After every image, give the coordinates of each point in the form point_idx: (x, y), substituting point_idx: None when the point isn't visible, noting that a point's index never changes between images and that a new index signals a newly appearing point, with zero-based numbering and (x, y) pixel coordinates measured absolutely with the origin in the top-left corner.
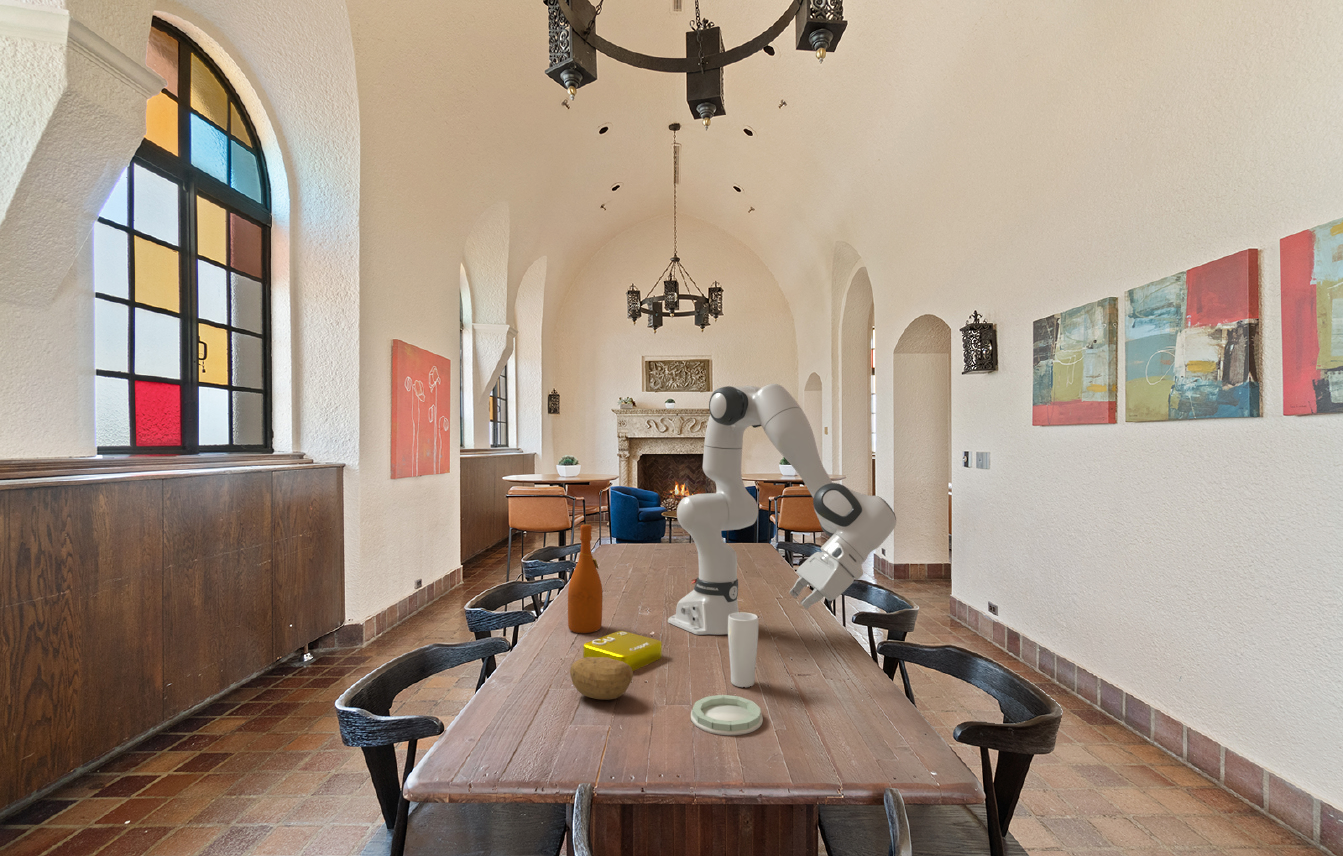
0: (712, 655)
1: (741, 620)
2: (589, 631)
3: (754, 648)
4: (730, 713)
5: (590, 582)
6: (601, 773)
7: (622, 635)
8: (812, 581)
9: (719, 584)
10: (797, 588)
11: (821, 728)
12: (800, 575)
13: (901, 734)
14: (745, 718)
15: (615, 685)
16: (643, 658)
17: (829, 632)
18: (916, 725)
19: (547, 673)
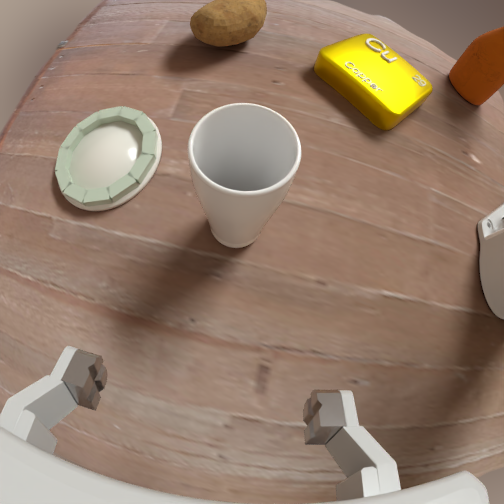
0: (393, 215)
1: (195, 125)
2: (453, 84)
3: (204, 211)
4: (108, 161)
5: (489, 45)
6: (70, 49)
7: (412, 78)
8: (59, 477)
9: None
10: (337, 441)
11: (37, 292)
12: (382, 494)
13: None
14: (65, 170)
15: (190, 24)
16: (344, 86)
17: None
18: None
19: (315, 16)
